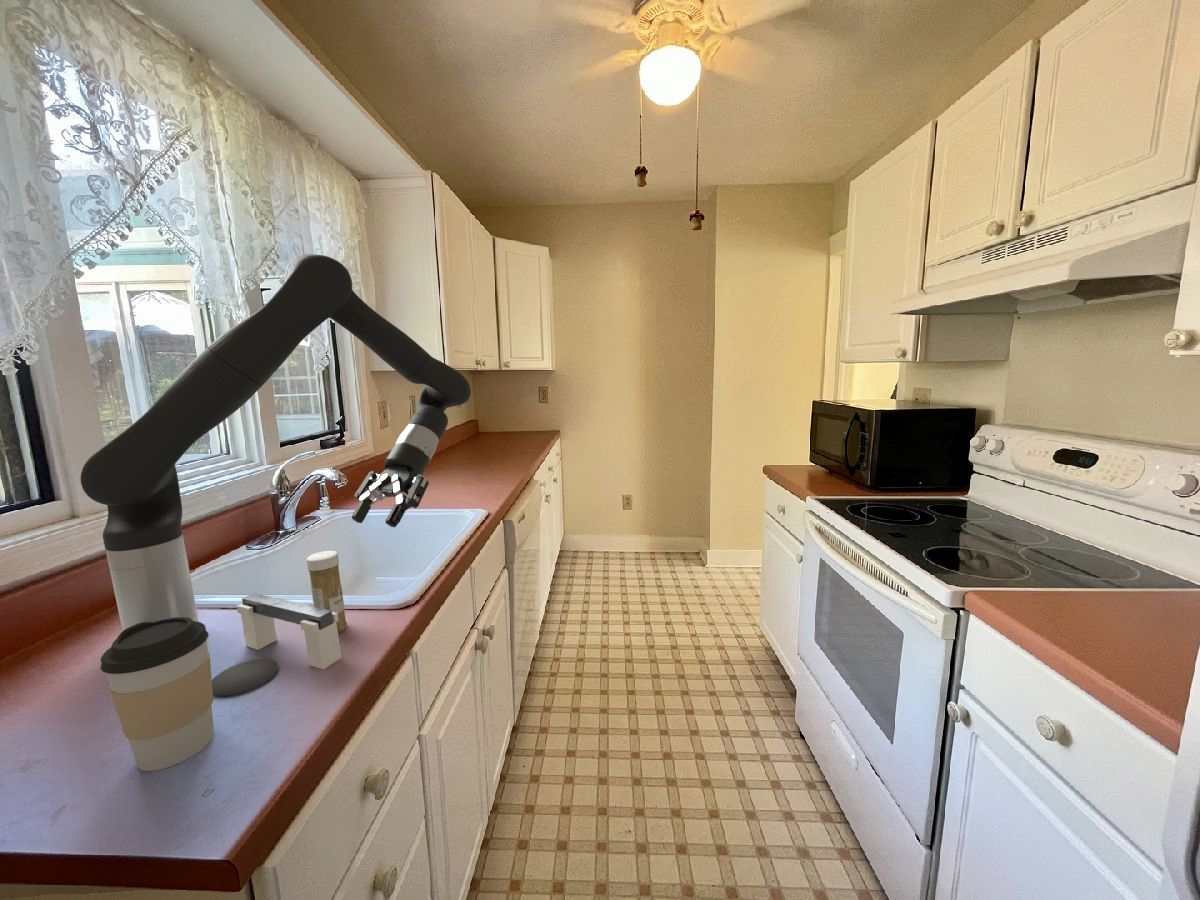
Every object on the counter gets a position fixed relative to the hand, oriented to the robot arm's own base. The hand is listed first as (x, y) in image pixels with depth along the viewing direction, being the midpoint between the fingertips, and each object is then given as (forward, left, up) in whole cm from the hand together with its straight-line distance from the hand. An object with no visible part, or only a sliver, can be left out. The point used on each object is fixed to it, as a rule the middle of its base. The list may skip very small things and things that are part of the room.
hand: (372, 523), depth 89 cm
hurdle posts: (0, -18, -16) cm, 23 cm away
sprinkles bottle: (0, -11, -16) cm, 19 cm away
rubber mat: (0, -25, -16) cm, 29 cm away
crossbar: (0, -18, -10) cm, 20 cm away
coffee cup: (+6, -36, -16) cm, 40 cm away
